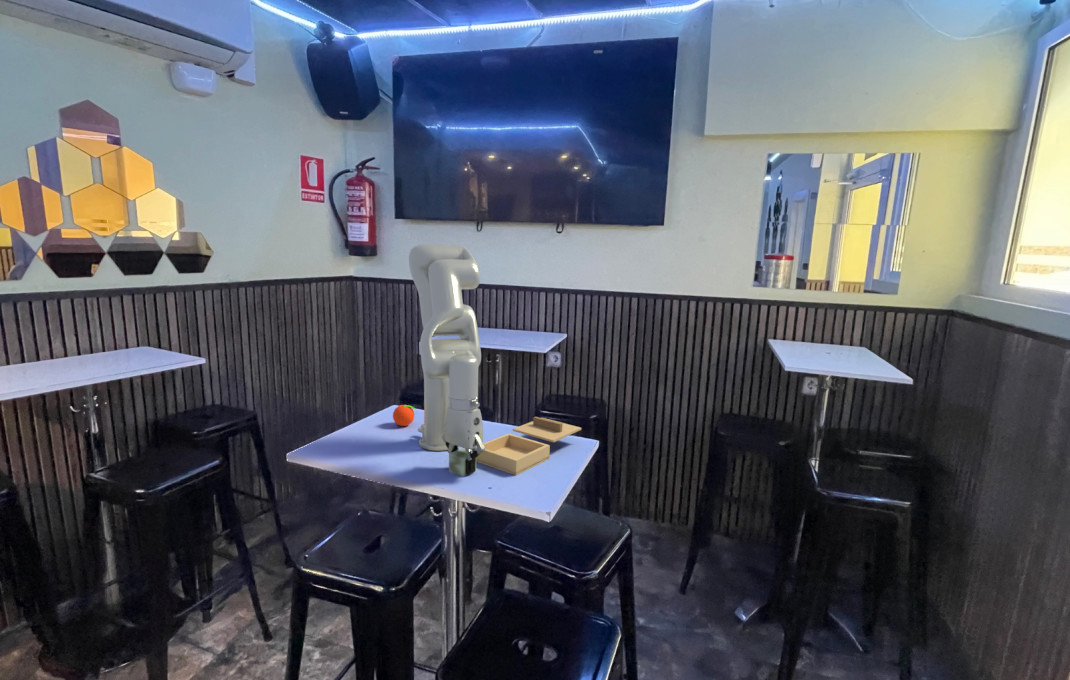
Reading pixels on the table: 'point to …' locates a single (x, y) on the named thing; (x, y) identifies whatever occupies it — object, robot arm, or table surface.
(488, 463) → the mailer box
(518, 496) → the table surface
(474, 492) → the table surface
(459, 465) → the green block
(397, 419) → the clementine
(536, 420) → the mailer lid
